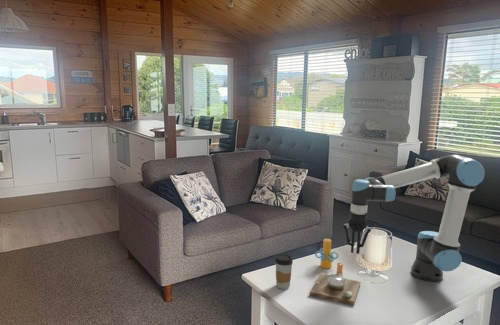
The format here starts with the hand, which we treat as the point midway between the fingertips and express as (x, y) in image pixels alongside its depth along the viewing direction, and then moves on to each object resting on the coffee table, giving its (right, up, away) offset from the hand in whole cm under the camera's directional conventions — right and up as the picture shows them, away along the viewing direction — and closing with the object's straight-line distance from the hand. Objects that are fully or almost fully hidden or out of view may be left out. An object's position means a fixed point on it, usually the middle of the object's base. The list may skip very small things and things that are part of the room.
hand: (354, 259), depth 186 cm
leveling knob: (-8, -12, 0) cm, 14 cm away
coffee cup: (-34, -14, +1) cm, 37 cm away
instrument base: (-10, -14, -2) cm, 17 cm away
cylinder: (-9, -10, +24) cm, 27 cm away
